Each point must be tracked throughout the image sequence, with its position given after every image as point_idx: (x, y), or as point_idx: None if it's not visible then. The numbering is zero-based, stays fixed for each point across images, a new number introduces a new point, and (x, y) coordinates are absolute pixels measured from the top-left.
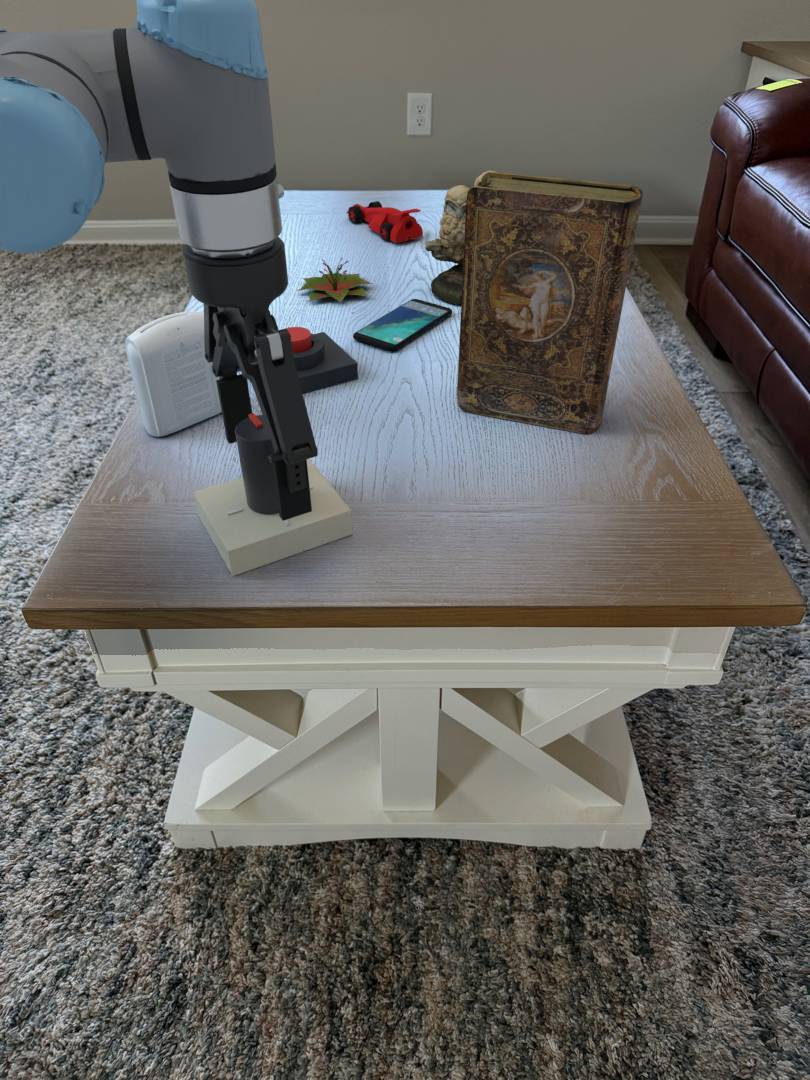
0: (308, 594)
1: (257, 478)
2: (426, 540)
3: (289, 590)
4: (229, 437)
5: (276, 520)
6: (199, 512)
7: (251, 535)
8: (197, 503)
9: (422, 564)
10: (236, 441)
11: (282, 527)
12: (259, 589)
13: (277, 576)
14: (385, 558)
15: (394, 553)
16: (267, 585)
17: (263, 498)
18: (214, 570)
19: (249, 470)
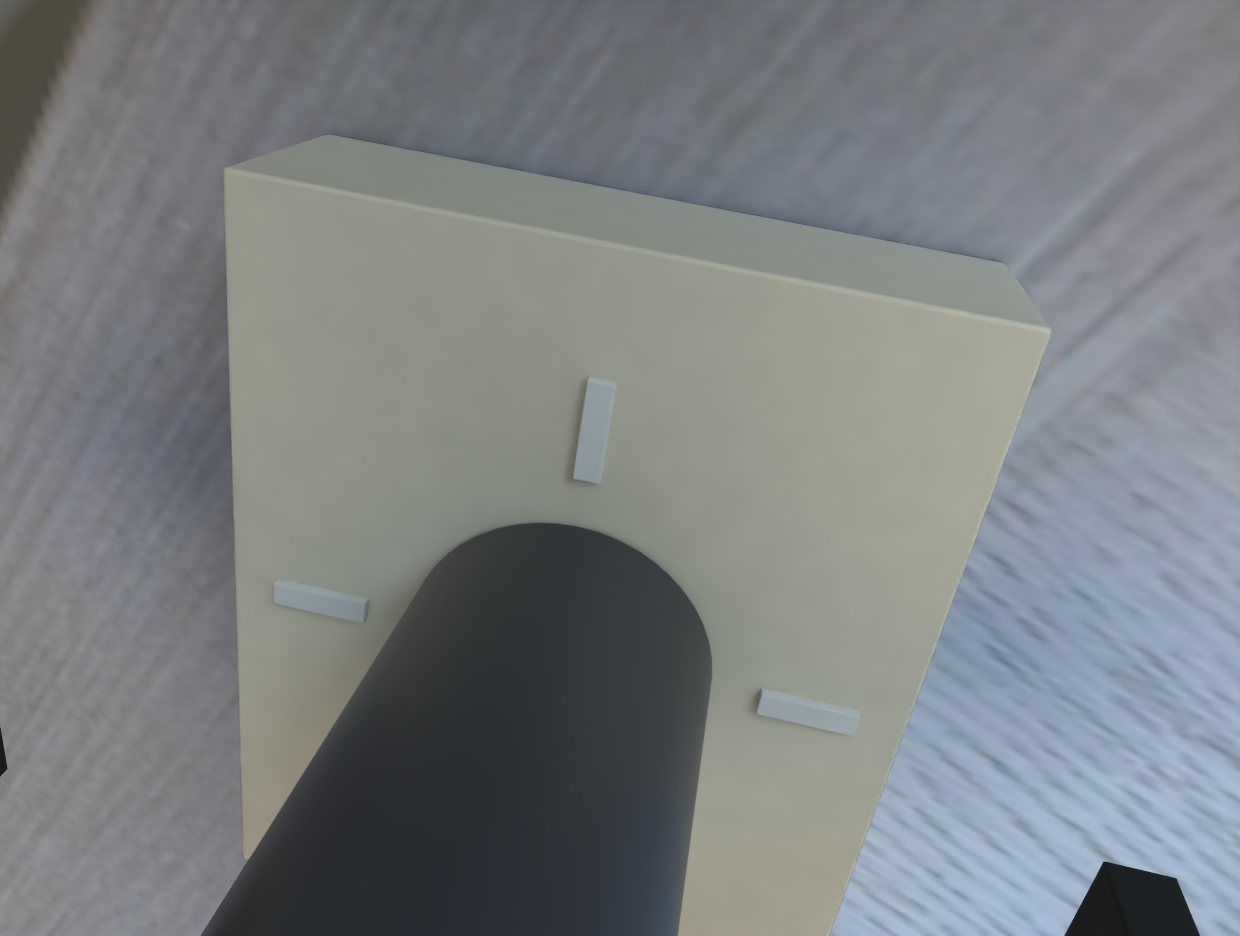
0: (28, 372)
1: (334, 744)
2: (143, 887)
3: (90, 318)
4: (1118, 923)
5: (359, 568)
6: (947, 270)
7: (301, 380)
8: (953, 292)
9: (22, 796)
10: (1078, 911)
11: (277, 555)
12: (161, 200)
13: (213, 331)
14: (113, 734)
15: (125, 773)
16: (172, 251)
17: (395, 634)
18: (438, 69)
19: (354, 771)
